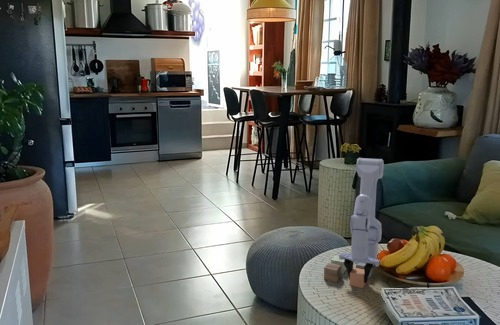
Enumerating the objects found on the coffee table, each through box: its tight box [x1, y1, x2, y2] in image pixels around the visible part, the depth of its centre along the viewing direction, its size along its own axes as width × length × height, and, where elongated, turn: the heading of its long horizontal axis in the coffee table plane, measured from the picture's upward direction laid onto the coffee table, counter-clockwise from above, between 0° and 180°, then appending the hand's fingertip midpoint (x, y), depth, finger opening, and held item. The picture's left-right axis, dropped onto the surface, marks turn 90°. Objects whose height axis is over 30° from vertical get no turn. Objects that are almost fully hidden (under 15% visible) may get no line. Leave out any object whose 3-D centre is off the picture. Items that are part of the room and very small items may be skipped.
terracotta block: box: [349, 267, 367, 289], centre depth 169 cm, size 5×5×5 cm
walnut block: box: [323, 262, 342, 283], centre depth 173 cm, size 5×5×5 cm
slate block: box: [355, 263, 373, 280], centre depth 175 cm, size 5×5×5 cm
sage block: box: [330, 254, 347, 275], centre depth 180 cm, size 5×5×5 cm
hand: (358, 280), depth 169 cm, fingers closed on terracotta block, 5 cm apart
